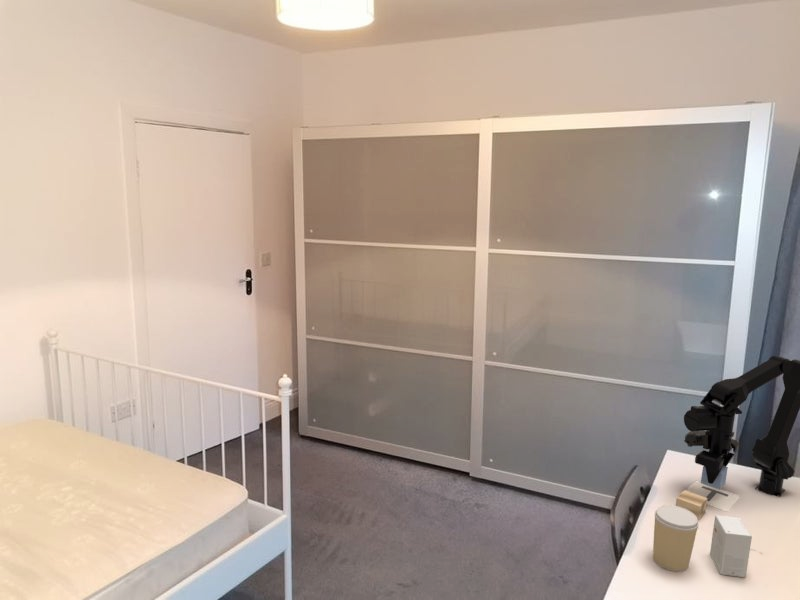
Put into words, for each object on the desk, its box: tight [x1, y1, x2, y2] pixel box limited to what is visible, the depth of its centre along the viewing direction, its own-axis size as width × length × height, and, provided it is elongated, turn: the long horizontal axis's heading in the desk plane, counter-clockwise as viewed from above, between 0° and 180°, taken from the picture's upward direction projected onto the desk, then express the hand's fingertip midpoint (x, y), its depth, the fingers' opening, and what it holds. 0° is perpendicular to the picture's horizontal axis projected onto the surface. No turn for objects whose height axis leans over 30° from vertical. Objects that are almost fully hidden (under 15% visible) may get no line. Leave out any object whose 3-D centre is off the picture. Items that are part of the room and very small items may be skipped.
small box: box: [709, 514, 753, 578], centre depth 141 cm, size 8×6×10 cm
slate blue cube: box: [700, 465, 729, 490], centre depth 171 cm, size 5×5×5 cm
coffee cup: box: [652, 504, 700, 572], centre depth 142 cm, size 9×9×12 cm
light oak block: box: [675, 489, 708, 522], centre depth 163 cm, size 6×6×5 cm
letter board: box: [685, 480, 741, 513], centre depth 173 cm, size 12×12×1 cm
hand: (713, 480), depth 172 cm, fingers closed on slate blue cube, 5 cm apart
